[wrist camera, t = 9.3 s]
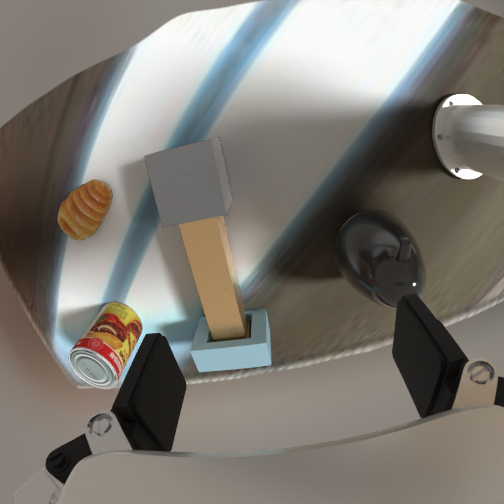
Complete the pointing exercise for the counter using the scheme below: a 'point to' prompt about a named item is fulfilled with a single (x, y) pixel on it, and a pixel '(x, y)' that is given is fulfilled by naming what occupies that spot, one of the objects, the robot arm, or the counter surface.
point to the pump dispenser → (380, 257)
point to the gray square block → (190, 182)
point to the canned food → (106, 345)
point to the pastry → (84, 209)
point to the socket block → (233, 346)
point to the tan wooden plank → (216, 278)
